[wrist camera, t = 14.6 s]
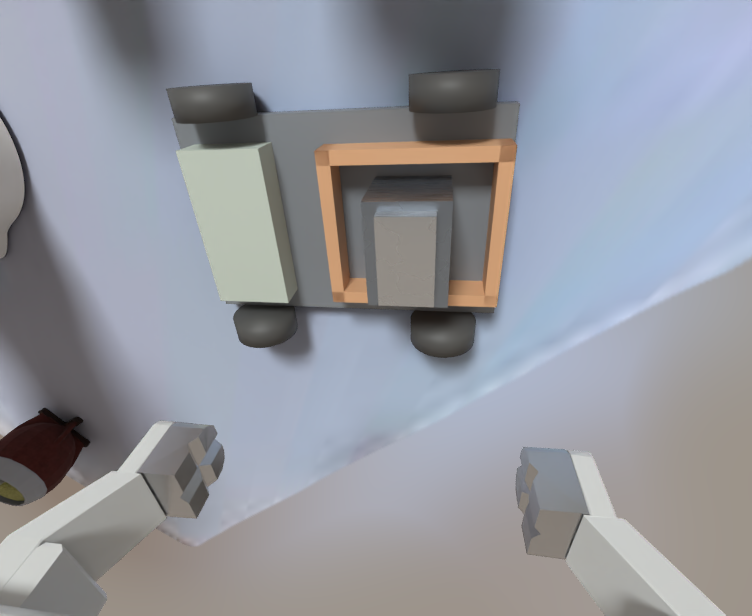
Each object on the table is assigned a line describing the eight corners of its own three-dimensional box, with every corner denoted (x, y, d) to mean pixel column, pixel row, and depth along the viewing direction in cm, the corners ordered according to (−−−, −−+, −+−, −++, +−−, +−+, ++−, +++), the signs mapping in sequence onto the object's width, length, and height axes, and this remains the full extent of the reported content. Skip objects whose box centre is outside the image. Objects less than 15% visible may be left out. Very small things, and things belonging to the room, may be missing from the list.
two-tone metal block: (380, 266, 27) (365, 312, 22) (375, 176, 24) (357, 206, 19) (447, 268, 26) (447, 315, 21) (451, 175, 23) (453, 206, 18)
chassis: (238, 312, 32) (211, 345, 29) (174, 86, 24) (124, 91, 20) (489, 322, 29) (496, 360, 26) (520, 66, 21) (536, 68, 17)
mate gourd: (76, 452, 48) (-56, 594, 35) (18, 410, 45) (-149, 547, 32) (110, 436, 45) (-21, 584, 32) (50, 389, 42) (-120, 532, 29)
